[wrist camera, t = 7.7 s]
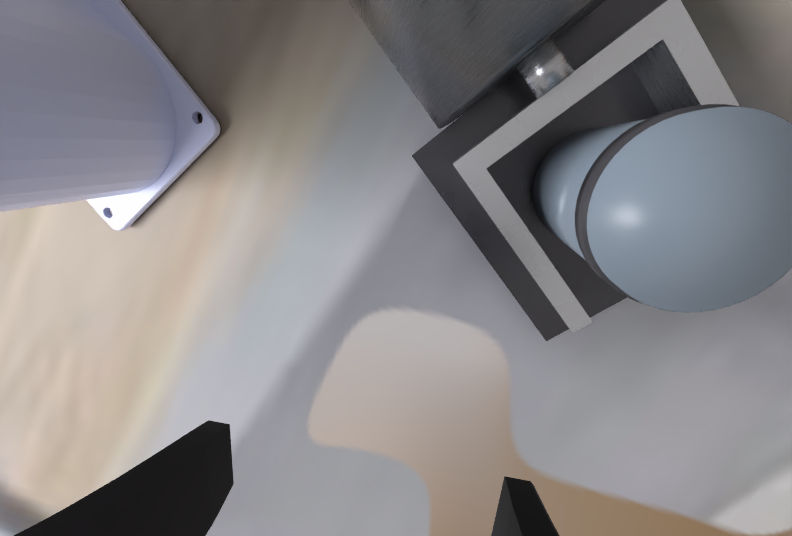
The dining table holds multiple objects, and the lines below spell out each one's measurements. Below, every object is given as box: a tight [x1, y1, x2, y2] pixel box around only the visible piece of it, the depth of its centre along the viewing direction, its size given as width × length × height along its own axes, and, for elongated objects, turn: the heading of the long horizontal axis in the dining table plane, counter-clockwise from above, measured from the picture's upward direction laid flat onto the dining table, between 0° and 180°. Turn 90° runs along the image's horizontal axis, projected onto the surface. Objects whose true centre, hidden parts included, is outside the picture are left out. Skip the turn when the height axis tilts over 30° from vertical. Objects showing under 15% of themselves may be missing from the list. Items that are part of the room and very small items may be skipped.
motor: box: [349, 0, 739, 341], centre depth 12 cm, size 19×10×7 cm, turn 38°
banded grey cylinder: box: [533, 104, 792, 312], centre depth 11 cm, size 5×5×7 cm
